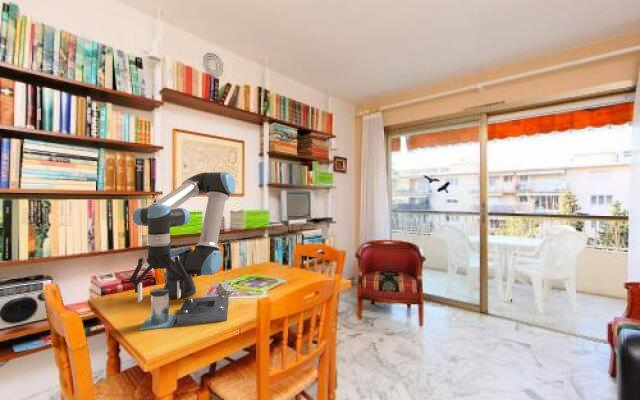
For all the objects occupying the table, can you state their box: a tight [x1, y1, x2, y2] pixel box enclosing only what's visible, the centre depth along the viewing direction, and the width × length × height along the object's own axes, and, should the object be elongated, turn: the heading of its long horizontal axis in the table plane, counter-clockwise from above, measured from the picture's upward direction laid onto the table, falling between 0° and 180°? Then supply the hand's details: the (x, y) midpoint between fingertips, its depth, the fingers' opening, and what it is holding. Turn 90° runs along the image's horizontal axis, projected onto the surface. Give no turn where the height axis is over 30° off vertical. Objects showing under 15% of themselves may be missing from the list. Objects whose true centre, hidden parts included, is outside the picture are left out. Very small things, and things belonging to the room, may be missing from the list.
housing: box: [176, 295, 230, 327], centre depth 121 cm, size 18×18×5 cm
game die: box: [215, 280, 235, 297], centre depth 139 cm, size 9×8×10 cm
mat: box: [139, 313, 178, 331], centre depth 113 cm, size 11×11×1 cm
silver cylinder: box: [149, 287, 170, 325], centre depth 113 cm, size 7×7×12 cm
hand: (159, 299), depth 113 cm, fingers open, 13 cm apart
